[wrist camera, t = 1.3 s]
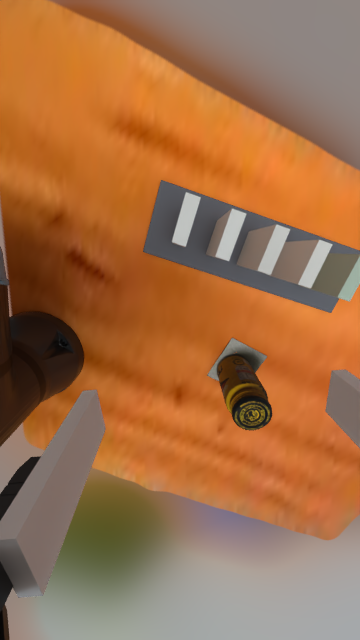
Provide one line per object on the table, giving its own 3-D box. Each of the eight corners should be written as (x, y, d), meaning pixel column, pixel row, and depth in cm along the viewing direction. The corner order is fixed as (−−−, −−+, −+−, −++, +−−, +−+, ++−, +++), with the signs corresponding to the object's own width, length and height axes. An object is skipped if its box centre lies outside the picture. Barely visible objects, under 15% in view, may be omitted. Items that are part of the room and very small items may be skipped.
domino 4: (265, 274, 35) (298, 284, 25) (279, 242, 33) (319, 239, 24) (275, 277, 35) (310, 288, 25) (289, 245, 33) (332, 244, 24)
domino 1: (174, 244, 33) (171, 242, 24) (184, 208, 32) (185, 192, 22) (184, 247, 34) (185, 246, 24) (195, 212, 32) (200, 197, 23)
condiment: (207, 374, 41) (217, 423, 29) (231, 337, 38) (253, 374, 27) (240, 391, 42) (262, 444, 30) (266, 355, 40) (301, 399, 28)
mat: (143, 251, 34) (143, 251, 34) (161, 180, 31) (161, 179, 31) (329, 312, 37) (331, 313, 37) (362, 252, 34) (364, 252, 34)
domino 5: (294, 284, 35) (337, 297, 26) (309, 252, 34) (360, 254, 24) (304, 287, 35) (349, 301, 26) (319, 256, 34) (373, 258, 24)
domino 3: (236, 264, 34) (257, 270, 25) (248, 231, 33) (276, 224, 23) (245, 267, 34) (270, 275, 25) (258, 234, 33) (290, 229, 23)
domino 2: (205, 254, 34) (215, 256, 24) (217, 220, 32) (232, 208, 23) (215, 257, 34) (228, 261, 24) (227, 223, 32) (246, 213, 23)
